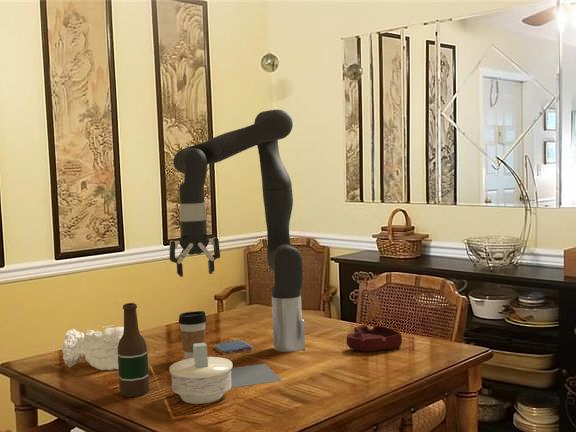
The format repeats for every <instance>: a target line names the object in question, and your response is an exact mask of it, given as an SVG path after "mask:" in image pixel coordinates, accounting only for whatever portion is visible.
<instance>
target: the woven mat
mask: <svg viewBox="0 0 576 432" xmlns="http://www.w3.org/2000/svg"><path fill="white" fill-rule="evenodd" d="M213 345H214V346H213V347H212V348H213V349H214V350H216V351H217V352H218V353H221V354H223V355H224V356H225V355H233V354H234V355H235V354H241V353H245V352H246V353H247V352H251V351H255V349H254V346H253V345H251V344H249V343H248V342H245V340H244V341H243V340H241V339H236V340H231V341H226V342H225V341H223V342H221V343H220V342H218V343H217V344H216V343H213Z"/></svg>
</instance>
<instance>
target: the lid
mask: <svg viewBox="0 0 576 432" xmlns="http://www.w3.org/2000/svg"><path fill="white" fill-rule="evenodd" d="M193 351H194V358H190V359H182V360H179V361H176V362H173V364H171V365H170V366H169V369H168V370H169V374H170V375H171V374H172V375H173V376H176V377H180V378H188V379H200V378H209V377H215V376H219V375H222V374H225V373H227V372H229V371H230V370H231V369H232V368H234V367H233V362H232V361H231V360H230V359H227V358H226V357H225V358H224V357H221V356H220V357H219V356H217V357H216V356H208V355H209V354H208V344H207V343H206V342H205V343H197V344H193ZM172 375H171V376H172Z"/></svg>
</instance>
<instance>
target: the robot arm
mask: <svg viewBox="0 0 576 432" xmlns="http://www.w3.org/2000/svg"><path fill="white" fill-rule="evenodd" d="M293 124H294V123H293V118H292V117H291V115H290V113H288V112H287V111H285V110H283V109H271V110H265V111H260V112H259V113H258V114H257V115H256V116H255V119H254V123H253V124H251V125H248V126H245V127H242V128H238V129H235V130H230V131H228V132H224V133H222V134H220V135H217V136H214V137H212V138H210V139H208V140H206V141H204V142H200V143H196V144H194V145H190V146H187V147H184V148H182V149H180V150H179V151H177V152H176V153H175V155H174V157H173V167H174V168H175V170H176V171H177V172H179V173H181V174H184V181H183V183H181V184H180V185H179V188H178V189H179V191H178V194H179V195H178V196H179V209H178V210H179V211H178V212H179V228H180V238H179V240H170V241H169V261H170V262H172V263H175V265H176V274H177V275H178V276H179V277H180V278H183V277H184V272H183V271H184V270H183V263H182V262H183V261H184V259H185V258H186V257H187V256H188V255H190V256H193V255H201V254H204V256H205V257H207V259H208V261H207V265H208V268H207V269H208V274H210V275H212V274H213V273H214V272H215V260H217V259H220V258H221V251H220V250H221V249H220V242H219V238H217V237H216V236H213V237H212V238H209V237H208V228H207V227H208V226H207V225H208V224H207V209H206V204H205V189H204V187H205V184H206V177H207V172H208V165H211V164H216V163H220V162H222V161H224V160H226V159H229V158H231V157H233V156H236V155H238V154H240V153H242V152H244V151H247V150H248V149H251V148H253V147H257V150H258V151H257V152H258V158H259V166H260V175H261V183H262V184H261V185H262V186H261V187H262V189H261V190H262V199H263V206H264V215H265V224H266V232H267V234H266V235H267V242H266V243H267V245H266V250H267V251H266V259H267V264H268V266H269V268H270V269H271V270H272V271H273V272H274V285H273V286H272V287H271V311H272V314H271V315H272V333H273V334H272V335H273V350H275V351H277V352H282V353H283V352H284V353H291V352H297V351H304V350H306V342H305V341H306V338H305V320H304V319H303V315H302V311H303V310H302V288H303V283H304V282H303V281H304V280H303V279H304V276H303V275H304V271H303V270H304V269H303V267H304V266H303V257H302V254H301V252H300V251H299V250H298V249H297V248H296V247H294V246H292V243H291V236H290V223H291V217H292V212H293V206H294V197H293V187H292V186H293V185H292V180H291V177H290V175H289V172H288V170H287V168H286V167H285V165H284V163H283V161H282V159H281V155H280V152H279V141H281V140H283V139H285V138H287V136H289V135H290V134H291V132H292V130H293ZM209 243H210V245H211V246H213V253H214V254H211V252H210V251H209V250H208V249H207V246H208V245H209ZM179 245H180V247H181V248H182V249H181V251H180V253H179V255H178V256H177V257H176V249H177V248H178V246H179Z"/></svg>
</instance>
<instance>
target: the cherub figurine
mask: <svg viewBox="0 0 576 432" xmlns="http://www.w3.org/2000/svg"><path fill="white" fill-rule="evenodd" d="M123 331H124V326H116V327H106V328H104V329H103V332H102V331H99V330H95V331H94V330H93V329H92V330H91V329H87V331H86V333H84V332H80V331H77V330H76V329H75V328H72V329H70V330H67V332H65V333H64V339H63V341H62V346H61V352H62V354H63V355H62V356H63V357H62V359H63V361H64V364H65V365H67V366H68V367H69V368H71V367H73V366H74V365H77V364H78V363H79V362H82V361H83V359H85V361H86V362H88V363H89V365H90V366H91V367H93V368H95V369H96V370H100V371H113V370H116V371H117V370H118V371H119V368H118V344H119V341H120V339H121V337H122V336H123ZM68 367H67V368H68Z"/></svg>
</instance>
